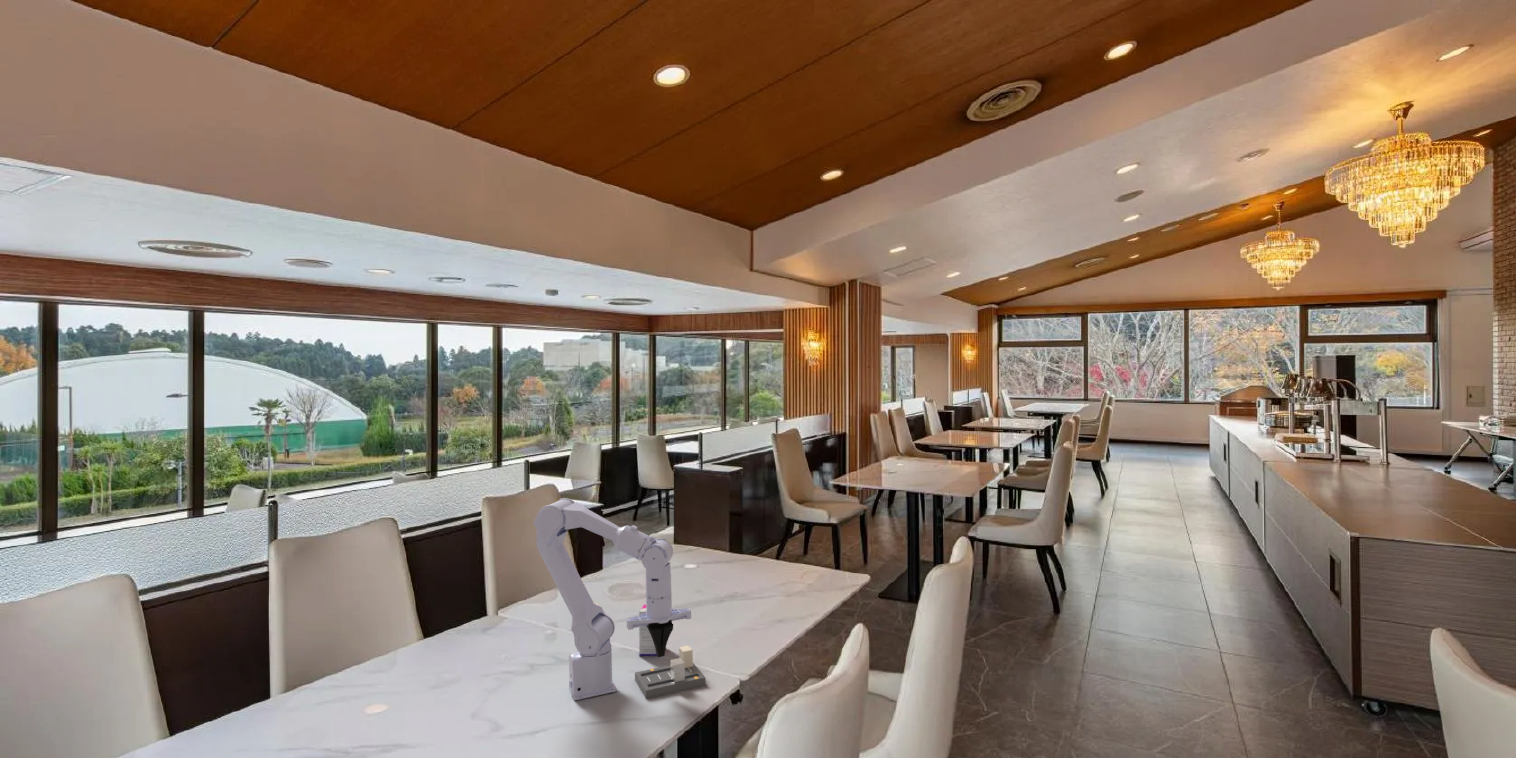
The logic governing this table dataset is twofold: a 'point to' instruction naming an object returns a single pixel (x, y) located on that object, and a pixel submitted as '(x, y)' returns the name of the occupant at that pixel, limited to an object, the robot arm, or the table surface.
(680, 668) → the fader near
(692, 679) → the console
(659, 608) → the robot arm
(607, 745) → the table surface
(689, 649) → the fader far
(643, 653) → the supplement box
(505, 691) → the table surface
